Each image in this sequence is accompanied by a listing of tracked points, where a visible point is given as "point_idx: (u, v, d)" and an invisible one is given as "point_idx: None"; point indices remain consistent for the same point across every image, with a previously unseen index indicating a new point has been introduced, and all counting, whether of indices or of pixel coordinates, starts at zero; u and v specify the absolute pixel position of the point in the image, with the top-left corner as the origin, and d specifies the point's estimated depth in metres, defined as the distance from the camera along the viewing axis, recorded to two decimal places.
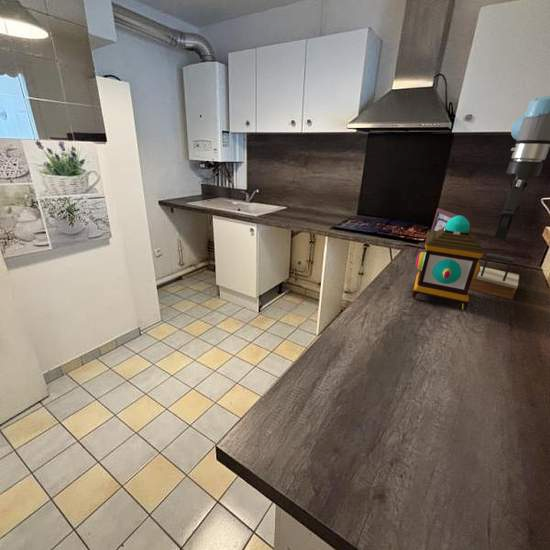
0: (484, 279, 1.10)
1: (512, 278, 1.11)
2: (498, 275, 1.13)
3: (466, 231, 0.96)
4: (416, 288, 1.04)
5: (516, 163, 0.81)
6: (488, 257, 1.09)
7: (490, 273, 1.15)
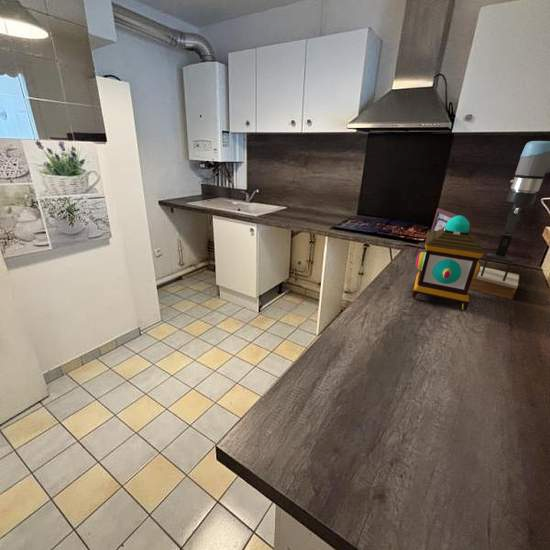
0: (484, 279, 1.10)
1: (512, 278, 1.11)
2: (498, 275, 1.13)
3: (466, 231, 0.96)
4: (416, 288, 1.04)
5: (515, 193, 0.97)
6: (488, 257, 1.09)
7: (490, 273, 1.15)
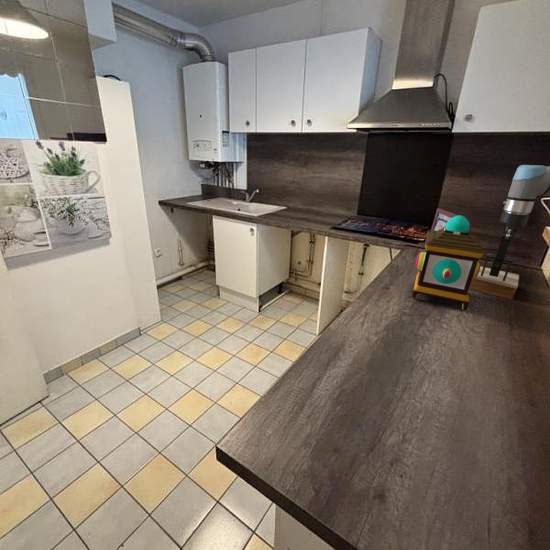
0: (484, 279, 1.10)
1: (512, 278, 1.11)
2: (498, 275, 1.13)
3: (466, 231, 0.96)
4: (416, 288, 1.04)
5: (507, 214, 1.00)
6: (488, 257, 1.09)
7: None
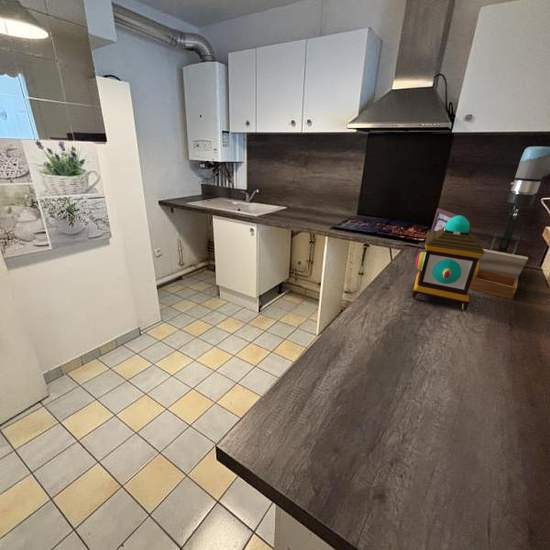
0: (494, 251, 1.09)
1: None
2: None
3: (466, 231, 0.96)
4: (416, 288, 1.04)
5: (515, 195, 1.04)
6: (496, 235, 1.13)
7: None
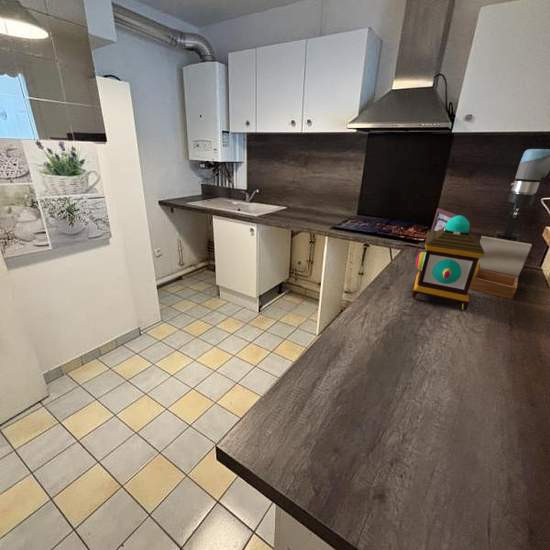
0: (498, 239, 1.12)
1: None
2: None
3: (466, 231, 0.96)
4: (416, 288, 1.04)
5: (515, 195, 1.10)
6: (498, 232, 1.18)
7: None
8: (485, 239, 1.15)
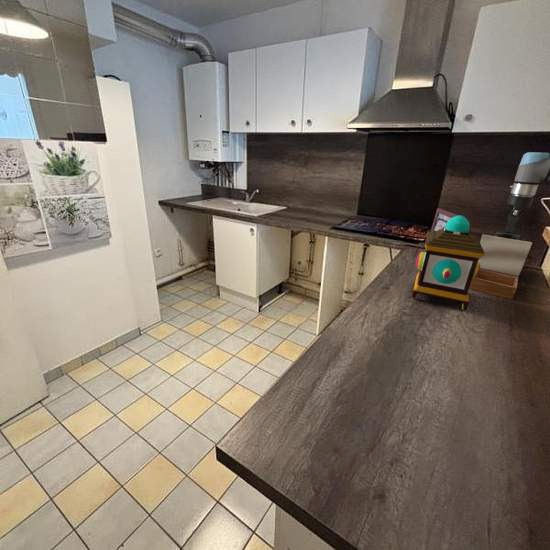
0: (499, 237, 1.13)
1: None
2: None
3: (466, 231, 0.96)
4: (416, 288, 1.04)
5: (514, 197, 1.12)
6: (497, 233, 1.20)
7: None
8: (486, 237, 1.15)
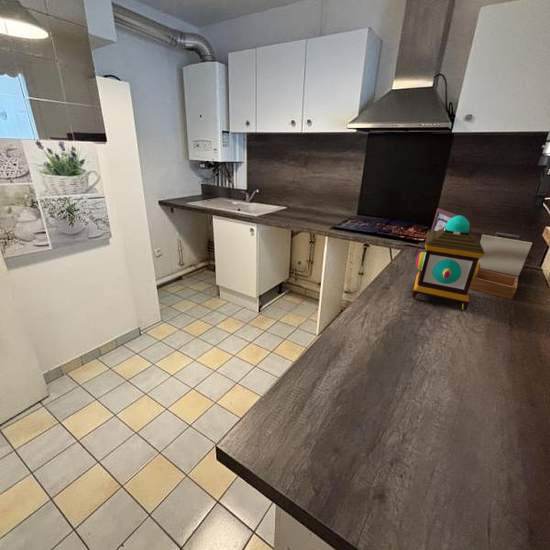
0: (499, 237, 1.13)
1: None
2: None
3: (466, 231, 0.96)
4: (416, 288, 1.04)
5: (547, 156, 1.07)
6: (497, 233, 1.20)
7: None
8: (486, 237, 1.15)
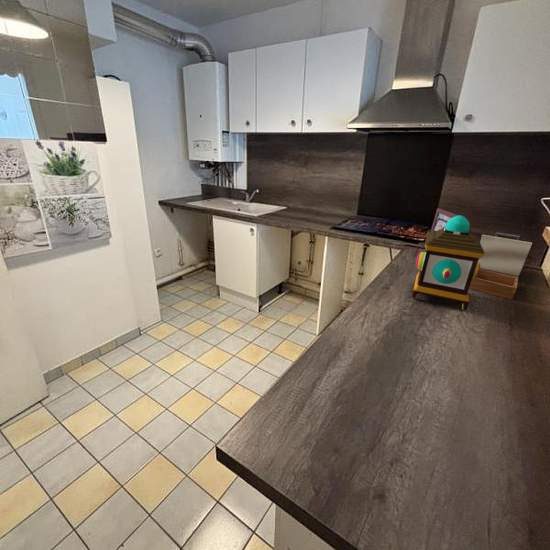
0: (499, 237, 1.13)
1: None
2: None
3: (466, 231, 0.96)
4: (416, 288, 1.04)
5: None
6: (497, 233, 1.20)
7: None
8: (486, 237, 1.15)
